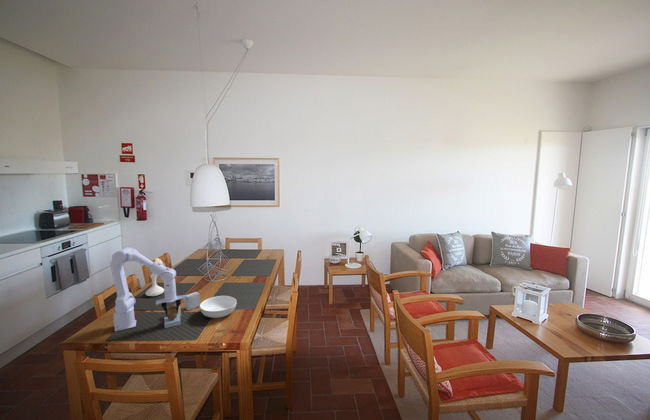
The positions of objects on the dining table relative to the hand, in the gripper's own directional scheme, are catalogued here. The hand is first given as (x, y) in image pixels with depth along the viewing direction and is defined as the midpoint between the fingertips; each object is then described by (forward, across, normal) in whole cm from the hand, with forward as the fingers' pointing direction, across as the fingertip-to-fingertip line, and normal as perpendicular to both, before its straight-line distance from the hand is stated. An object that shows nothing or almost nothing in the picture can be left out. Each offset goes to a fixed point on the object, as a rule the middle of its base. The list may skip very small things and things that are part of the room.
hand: (171, 313), depth 167 cm
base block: (+6, 0, 0) cm, 6 cm away
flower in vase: (+6, -8, +49) cm, 50 cm away
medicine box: (+6, +12, +15) cm, 20 cm away
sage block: (+6, +2, +8) cm, 10 cm away
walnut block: (+2, 0, 0) cm, 2 cm away
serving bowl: (+6, +25, -1) cm, 26 cm away
